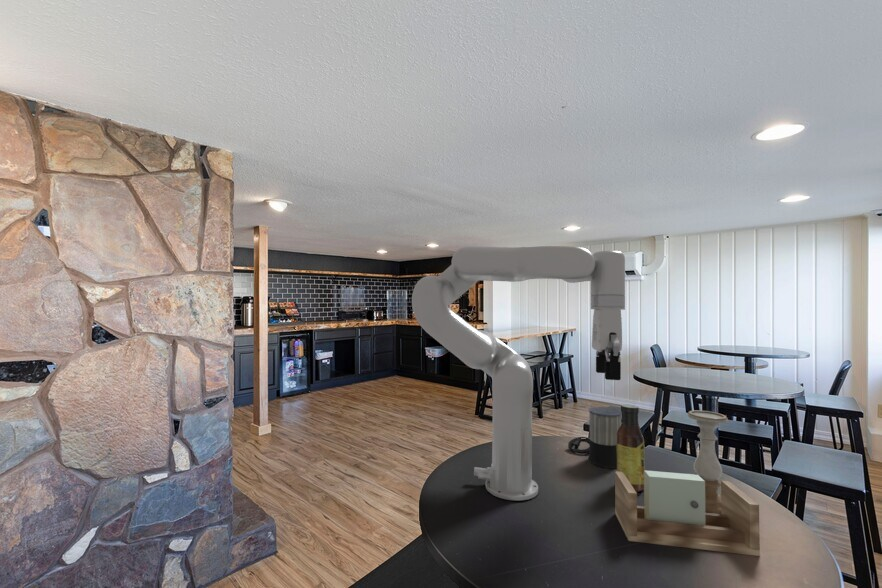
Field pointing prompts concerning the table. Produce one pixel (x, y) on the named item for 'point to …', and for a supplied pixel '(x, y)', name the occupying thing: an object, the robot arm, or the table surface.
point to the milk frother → (601, 437)
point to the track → (720, 532)
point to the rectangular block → (674, 497)
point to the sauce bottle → (631, 447)
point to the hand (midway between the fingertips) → (607, 376)
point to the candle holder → (709, 457)
